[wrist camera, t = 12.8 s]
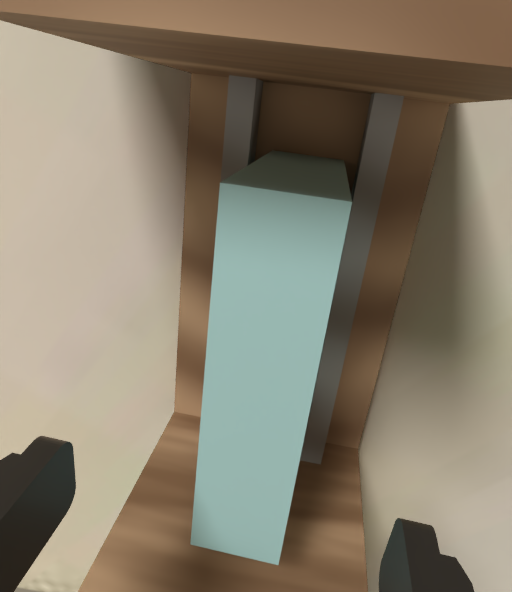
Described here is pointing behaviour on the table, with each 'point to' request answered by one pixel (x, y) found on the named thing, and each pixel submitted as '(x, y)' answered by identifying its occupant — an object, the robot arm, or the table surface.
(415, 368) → the table surface
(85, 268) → the table surface
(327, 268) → the pale teal rectangular block
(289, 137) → the slotted wooden stand
